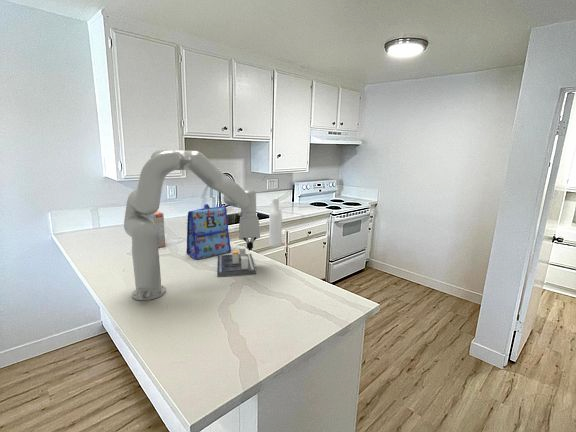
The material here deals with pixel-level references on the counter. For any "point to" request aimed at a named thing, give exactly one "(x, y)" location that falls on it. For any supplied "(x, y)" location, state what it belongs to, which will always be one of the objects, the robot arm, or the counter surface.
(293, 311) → the counter surface
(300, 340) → the counter surface
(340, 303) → the counter surface
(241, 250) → the block
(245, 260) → the block
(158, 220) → the cracker box
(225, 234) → the lunch bag
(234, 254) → the block
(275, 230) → the bottle
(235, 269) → the panel
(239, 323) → the counter surface
